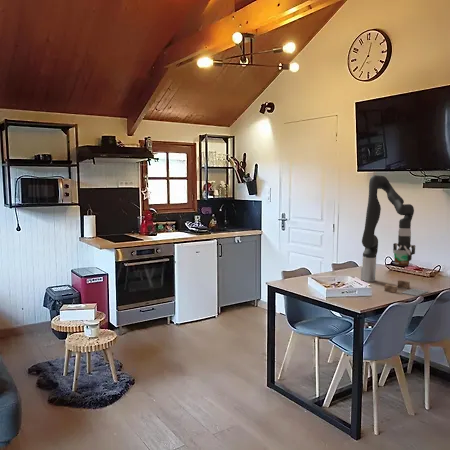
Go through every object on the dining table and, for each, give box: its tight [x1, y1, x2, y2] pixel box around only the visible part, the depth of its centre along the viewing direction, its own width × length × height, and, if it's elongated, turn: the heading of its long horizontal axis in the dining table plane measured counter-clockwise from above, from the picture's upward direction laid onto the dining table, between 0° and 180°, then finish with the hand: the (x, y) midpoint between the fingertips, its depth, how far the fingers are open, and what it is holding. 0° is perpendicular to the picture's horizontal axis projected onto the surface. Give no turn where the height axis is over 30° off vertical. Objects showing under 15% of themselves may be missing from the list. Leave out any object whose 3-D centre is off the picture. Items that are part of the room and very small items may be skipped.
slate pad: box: [401, 287, 429, 297], centre depth 294 cm, size 10×16×1 cm, turn 133°
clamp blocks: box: [384, 279, 411, 294], centre depth 303 cm, size 7×21×4 cm, turn 133°
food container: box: [392, 249, 410, 267], centre depth 298 cm, size 12×6×10 cm, turn 106°
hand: (403, 259), depth 298 cm, fingers closed on food container, 7 cm apart
